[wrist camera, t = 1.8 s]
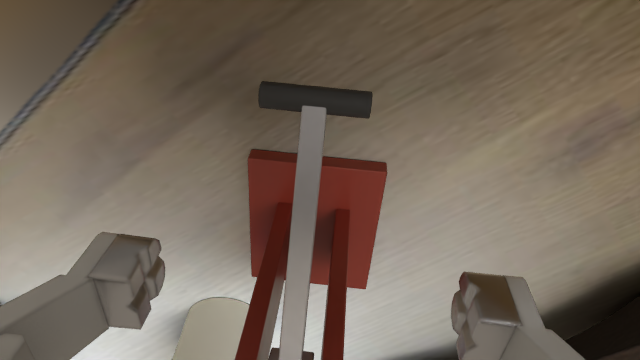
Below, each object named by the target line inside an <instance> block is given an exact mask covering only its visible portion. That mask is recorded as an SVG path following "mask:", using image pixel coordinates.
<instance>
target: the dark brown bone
mask: <svg viewBox="0 0 640 360" xmlns="http://www.w3.org/2000/svg"><path fill="white" fill-rule="evenodd" d="M565 342H566V343H567V344H568V345H569V346H571V347H572V348H573V349H574V350H575V351H576V352H577V353H579V354H580V355H581V356H582V357H583V358H584V359H585V360H640V296H639V297H638V298H636V299H635V300H633V301H632V302H630V303H629V304H627V305H626V306H625V307H623V308H621V309H620V310H618V311H617V312H615V313H614V314H613V315H611V316H610V317H608V318H607V319H605V320H604V321H602V322H600V323H598V324H596V325H595V326H593V327H591V328H590V329H588V330H586V331H584V332H582V333H580V334H578V335H576V336H574V337H572V338H570V339H568V340H565Z"/></svg>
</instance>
